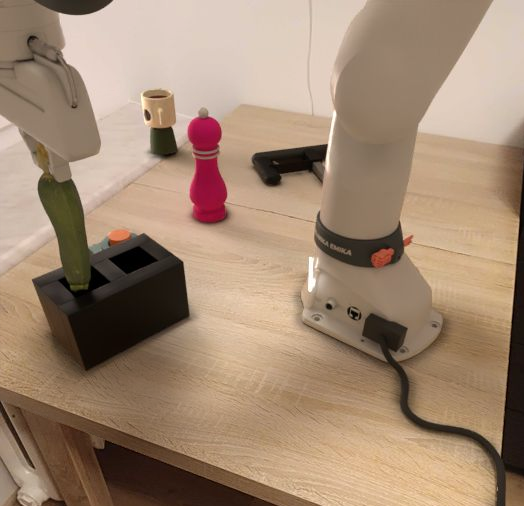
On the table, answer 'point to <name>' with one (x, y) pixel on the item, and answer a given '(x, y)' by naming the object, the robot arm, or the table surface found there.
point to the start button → (118, 236)
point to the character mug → (160, 120)
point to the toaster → (115, 300)
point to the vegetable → (66, 223)
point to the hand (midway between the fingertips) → (53, 172)
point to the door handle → (290, 162)
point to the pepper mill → (206, 169)
